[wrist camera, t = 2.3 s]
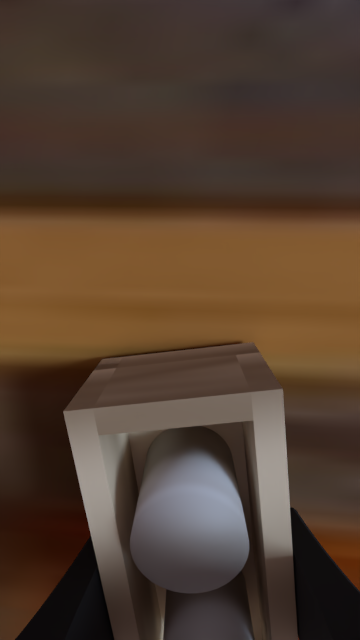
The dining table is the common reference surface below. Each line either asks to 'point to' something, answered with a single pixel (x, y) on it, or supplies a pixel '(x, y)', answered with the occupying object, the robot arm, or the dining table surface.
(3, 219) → the dining table surface
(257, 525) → the tray
